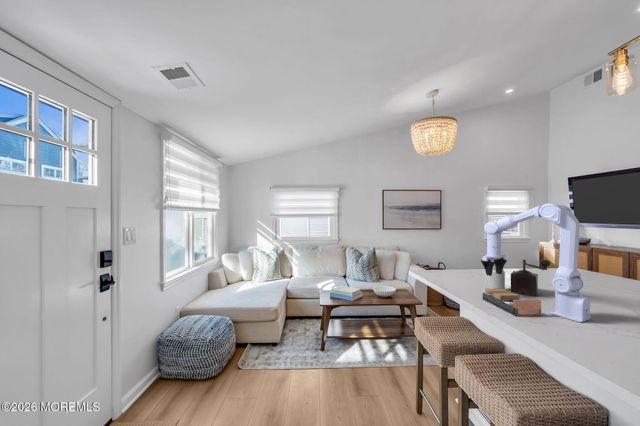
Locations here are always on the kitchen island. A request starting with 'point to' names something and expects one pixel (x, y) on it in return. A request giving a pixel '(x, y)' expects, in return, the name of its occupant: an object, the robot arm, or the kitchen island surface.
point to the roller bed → (516, 305)
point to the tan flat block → (502, 294)
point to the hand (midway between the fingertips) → (493, 274)
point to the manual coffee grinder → (527, 279)
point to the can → (496, 280)
